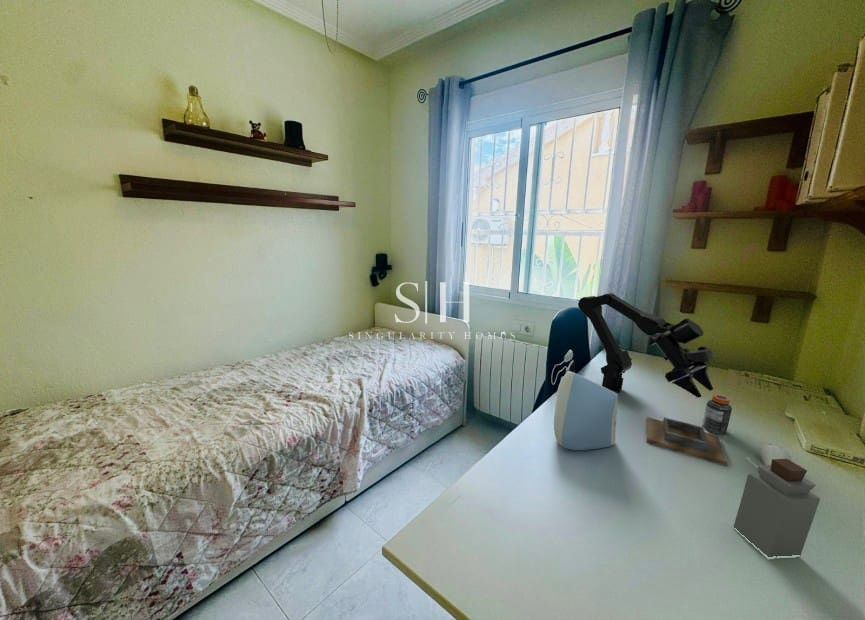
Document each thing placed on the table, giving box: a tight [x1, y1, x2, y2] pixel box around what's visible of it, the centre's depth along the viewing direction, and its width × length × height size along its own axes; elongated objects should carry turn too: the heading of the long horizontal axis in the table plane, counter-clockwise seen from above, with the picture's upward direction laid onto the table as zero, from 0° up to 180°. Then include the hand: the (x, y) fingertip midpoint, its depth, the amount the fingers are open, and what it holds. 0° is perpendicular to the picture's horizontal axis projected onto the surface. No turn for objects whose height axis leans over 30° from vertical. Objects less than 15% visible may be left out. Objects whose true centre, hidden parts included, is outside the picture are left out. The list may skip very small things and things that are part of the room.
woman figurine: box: [744, 443, 792, 470], centre depth 85 cm, size 12×4×18 cm
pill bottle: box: [701, 394, 733, 435], centre depth 102 cm, size 6×6×11 cm
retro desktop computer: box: [550, 349, 619, 451], centre depth 96 cm, size 25×23×17 cm
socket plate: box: [645, 416, 728, 467], centre depth 97 cm, size 18×14×4 cm
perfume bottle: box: [733, 459, 821, 557], centre depth 63 cm, size 7×7×18 cm
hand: (706, 393), depth 104 cm, fingers open, 9 cm apart
